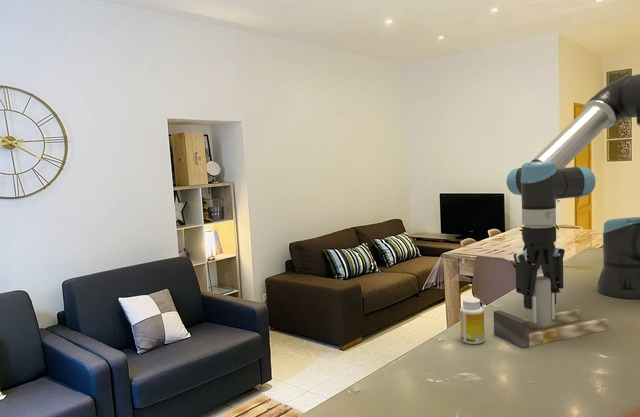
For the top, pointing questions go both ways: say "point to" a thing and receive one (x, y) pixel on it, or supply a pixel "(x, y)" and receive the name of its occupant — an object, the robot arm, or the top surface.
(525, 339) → the guide channel
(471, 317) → the supplement bottle
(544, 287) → the beverage can
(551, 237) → the robot arm
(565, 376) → the top surface
